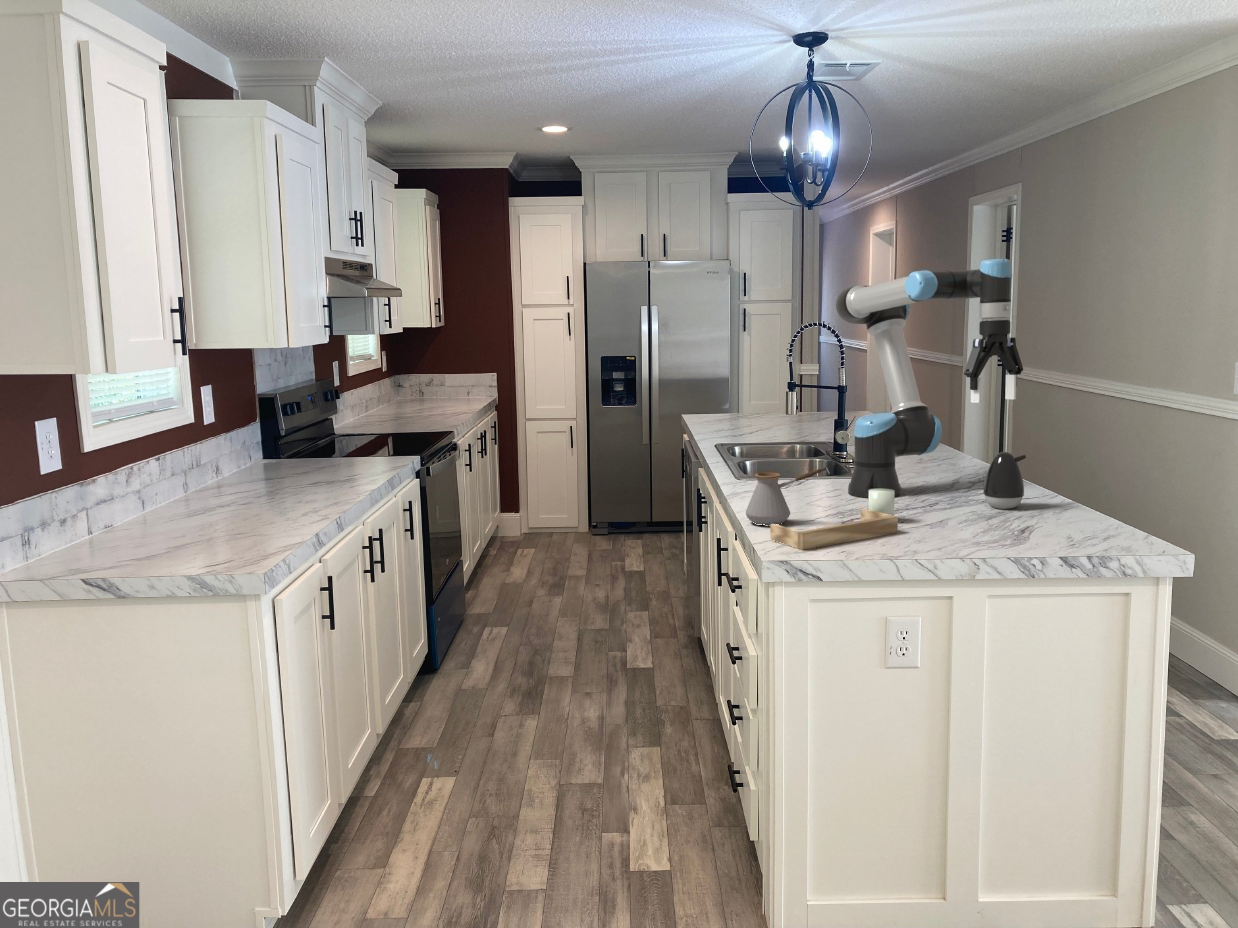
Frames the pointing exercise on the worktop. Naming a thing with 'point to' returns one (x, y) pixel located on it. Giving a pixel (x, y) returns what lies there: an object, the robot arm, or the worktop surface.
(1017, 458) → the pump dispenser
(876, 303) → the robot arm
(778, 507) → the coffee pot
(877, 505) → the green jar
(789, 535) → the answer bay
